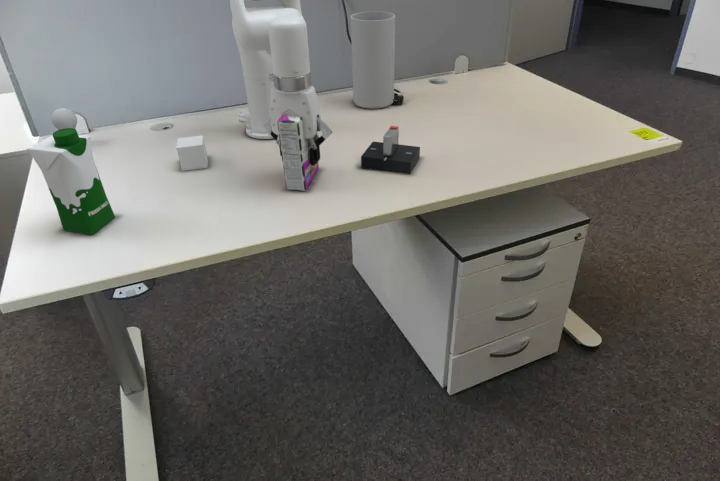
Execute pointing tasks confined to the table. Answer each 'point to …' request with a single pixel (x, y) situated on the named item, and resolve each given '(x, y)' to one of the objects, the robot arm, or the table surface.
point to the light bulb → (64, 119)
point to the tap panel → (390, 158)
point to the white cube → (192, 153)
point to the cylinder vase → (373, 59)
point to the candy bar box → (295, 154)
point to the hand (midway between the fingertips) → (300, 160)
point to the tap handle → (390, 141)
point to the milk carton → (73, 181)
